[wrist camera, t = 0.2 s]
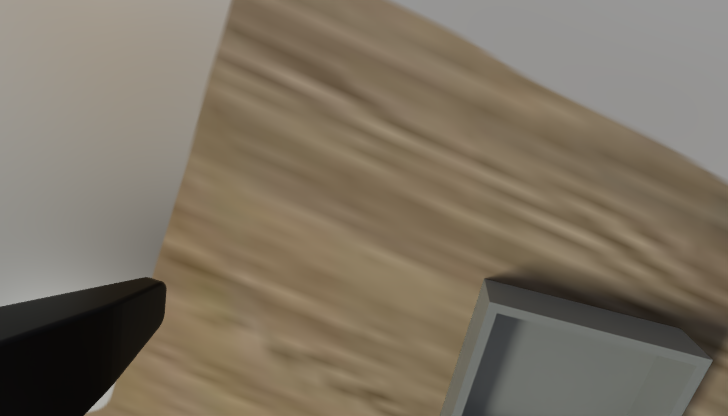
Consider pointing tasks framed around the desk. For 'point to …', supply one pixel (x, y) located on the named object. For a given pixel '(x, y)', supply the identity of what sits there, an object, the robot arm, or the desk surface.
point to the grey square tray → (569, 360)
